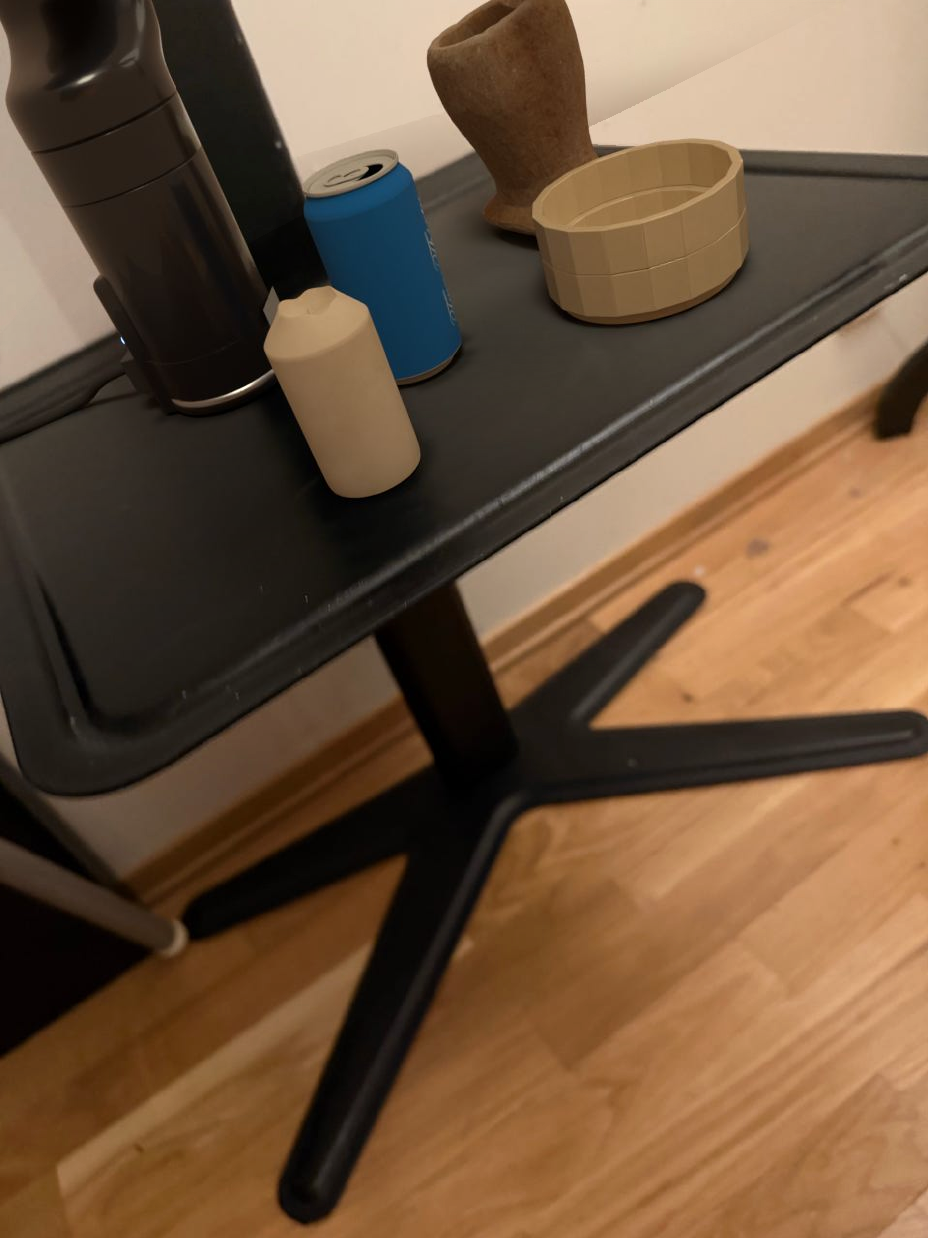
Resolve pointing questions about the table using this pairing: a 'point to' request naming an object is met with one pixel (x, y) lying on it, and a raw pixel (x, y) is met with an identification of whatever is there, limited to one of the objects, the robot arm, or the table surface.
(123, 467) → the table surface
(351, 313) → the candle
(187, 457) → the table surface
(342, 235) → the beverage can
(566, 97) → the stone cup
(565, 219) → the bowl
